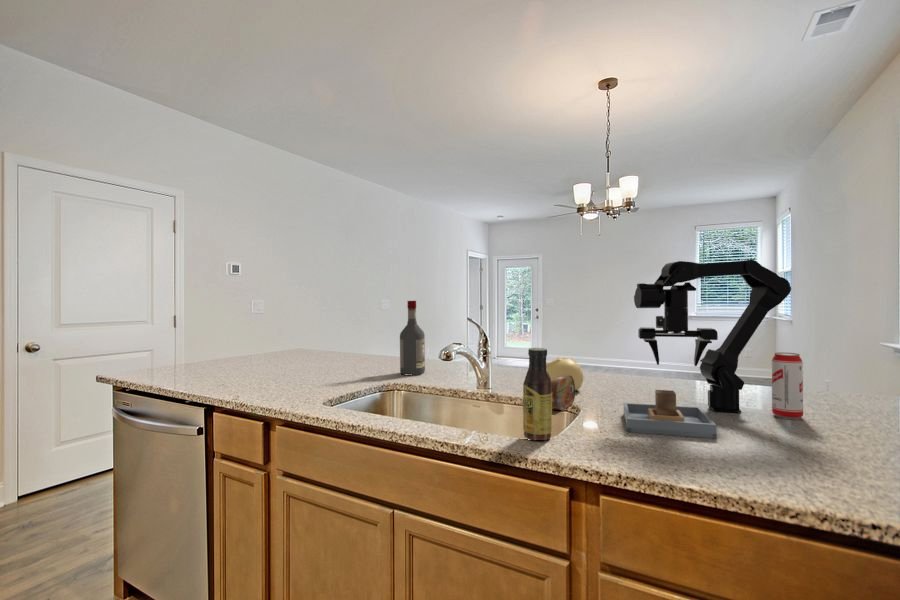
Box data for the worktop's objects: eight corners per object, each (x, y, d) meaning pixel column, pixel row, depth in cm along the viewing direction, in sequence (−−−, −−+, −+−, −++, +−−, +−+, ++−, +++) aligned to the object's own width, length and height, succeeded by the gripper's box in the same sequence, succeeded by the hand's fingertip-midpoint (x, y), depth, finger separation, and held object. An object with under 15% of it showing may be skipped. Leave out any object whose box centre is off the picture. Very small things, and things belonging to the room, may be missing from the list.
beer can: (797, 414, 115) (796, 352, 115) (807, 421, 109) (807, 355, 109) (768, 412, 117) (768, 351, 117) (777, 419, 111) (776, 354, 111)
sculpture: (569, 385, 156) (568, 354, 156) (590, 392, 145) (590, 359, 145) (540, 388, 153) (539, 356, 153) (559, 395, 141) (559, 361, 141)
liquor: (399, 375, 181) (397, 301, 181) (405, 371, 190) (404, 300, 190) (421, 375, 179) (420, 300, 179) (426, 371, 188) (425, 300, 188)
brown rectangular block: (673, 419, 109) (673, 390, 109) (676, 424, 105) (676, 394, 105) (655, 418, 110) (655, 389, 110) (657, 422, 106) (657, 393, 106)
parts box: (700, 419, 112) (700, 407, 112) (716, 438, 97) (716, 424, 97) (623, 414, 118) (623, 402, 118) (627, 431, 103) (627, 418, 103)
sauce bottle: (520, 434, 102) (519, 347, 102) (547, 432, 103) (546, 346, 103) (527, 443, 96) (526, 350, 95) (556, 442, 96) (555, 349, 96)
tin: (558, 413, 120) (557, 382, 119) (547, 412, 121) (546, 381, 121) (576, 402, 132) (576, 373, 132) (565, 400, 134) (565, 372, 134)
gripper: (708, 307, 126) (708, 362, 127) (636, 307, 132) (637, 360, 132) (717, 308, 116) (718, 368, 116) (639, 308, 122) (640, 365, 122)
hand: (676, 365), depth 122 cm, fingers open, 9 cm apart
